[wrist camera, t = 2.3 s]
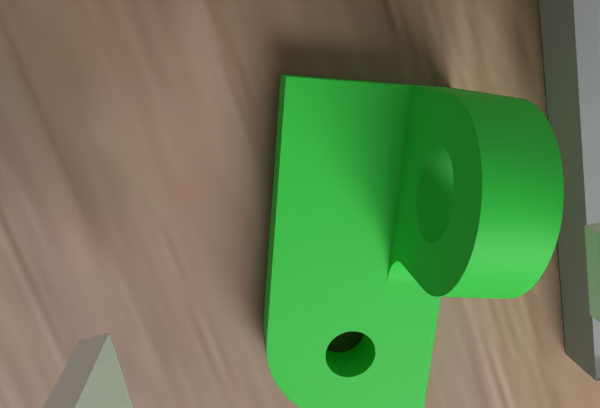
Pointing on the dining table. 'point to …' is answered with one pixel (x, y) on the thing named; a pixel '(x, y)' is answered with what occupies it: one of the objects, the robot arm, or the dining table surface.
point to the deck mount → (575, 157)
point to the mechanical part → (396, 227)
